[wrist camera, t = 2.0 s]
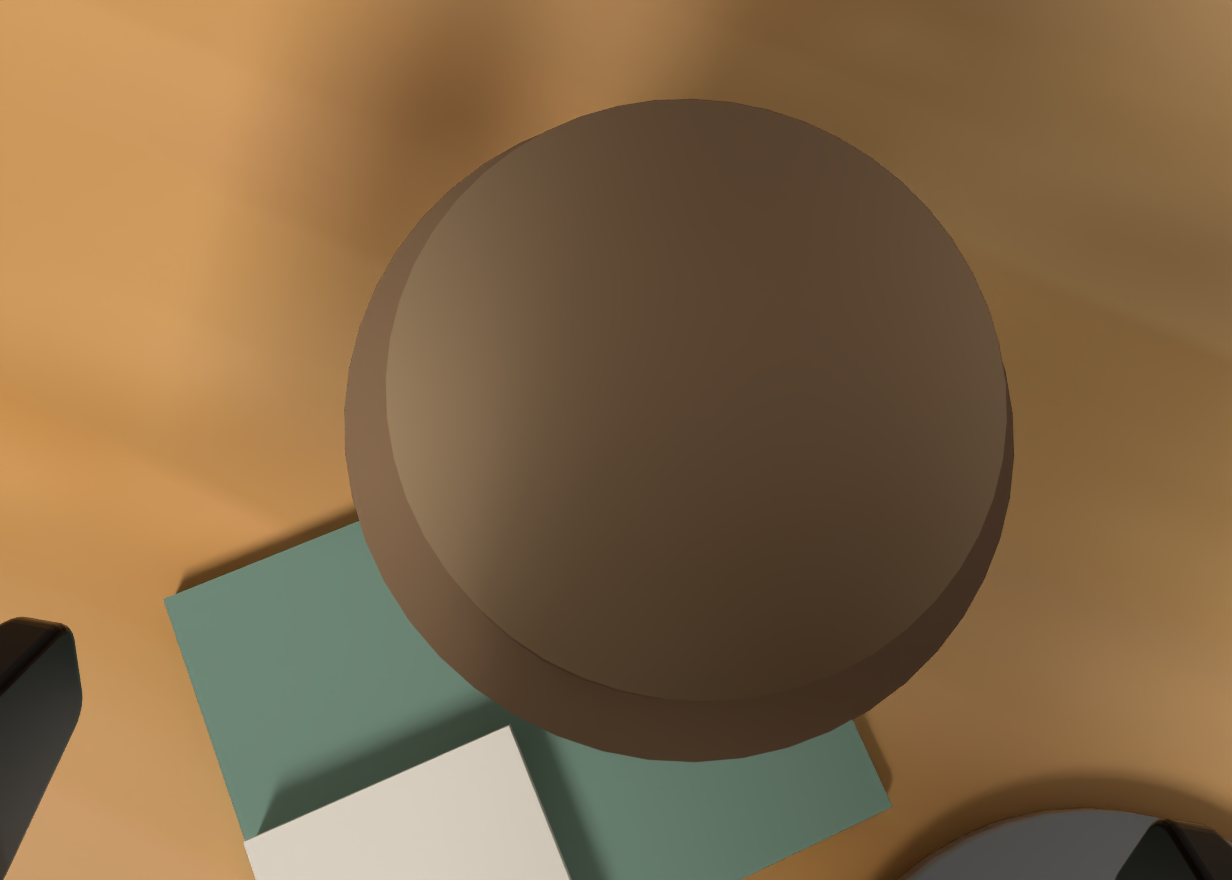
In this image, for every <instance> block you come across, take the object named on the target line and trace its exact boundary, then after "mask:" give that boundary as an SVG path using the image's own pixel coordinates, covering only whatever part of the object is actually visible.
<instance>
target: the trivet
mask: <svg viewBox="0 0 1232 880" xmlns="http://www.w3.org/2000/svg"><path fill="white" fill-rule="evenodd" d="M1159 819H1161V818H1158V817H1152V816H1147V815H1142V814H1137V813H1131V812H1126V811H1121V810H1111V809H1091V808H1070V809H1059V810H1048V811H1038V812H1033V813H1029V814H1025V815H1021V816H1017V817H1013V818H1009V819H1004V820H1000V821H997V822H995V823H992V824H990V825H987V826H985V827H982V828H980V829H977V830H975V831H972V832H970V833H967V834H965V835H963V836H961V837H959V838H957V839H955V840H954V841H952V842H950V843H949V844H947V845H945V846H943V847H942V848H940V849H938V850H937V851H935V852H933V853H931V854H930V855H928V856H926V857H925V858H924V859H923V860H921V861H920V862H919V863H917V864H916V865H915V866H914V867H912V868H911V869H910V870H909V871H907V872H906V873H905V874H904V875H902V876H901V877H900V878H899V879H897V880H1115V878H1116V875H1117V873H1118V872H1119V870H1120V869H1121V867H1122V866H1123V864H1124V863H1125V861H1126V860H1127V858H1128V857H1129V855H1130V854H1131V852H1132V851H1133V849H1134V848H1135V846H1136V845H1137V843H1138V842H1139V841H1140V839H1141V838H1142V836H1143V835H1144V833H1145V832H1146V830H1147V829H1148V827H1149V826H1150V825H1151V824H1152V823H1153V822H1155V821H1157V820H1159ZM1224 839H1225V838H1224ZM1225 840H1226V841H1227V842H1228V843H1229V844H1230V845H1231V846H1232V842H1231V841H1229V840H1227V839H1225Z"/></svg>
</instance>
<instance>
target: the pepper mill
mask: <svg viewBox="0 0 1232 880" xmlns="http://www.w3.org/2000/svg"><path fill="white" fill-rule="evenodd" d="M344 413H345V455H346V461H347V467H348V474H349V480H350V486H351V492H352V498H353V502H354V505H355V508H356V511H357V515H358V518H359V521H360V525H361V528H362V531H363V534H364V538H365V541H366V543H367V545H368V547H369V550H370V552H371V554H372V556H373V558H374V560H375V563H376V565H377V567H378V569H379V571H380V573H381V576H382V578H383V580H384V582H385V584H386V585H387V587H388V588H389V590H390V592H391V593H392V595H393V596H394V598H395V599H396V601H397V603H398V604H399V606H400V607H401V609H402V610H403V612H404V613H405V615H406V617H407V618H408V620H409V621H410V622H411V624H412V625H413V626H414V627H415V628H416V630H417V631H418V632H419V633H420V634H421V635H422V637H423V638H424V639H425V640H426V641H427V642H428V644H429V645H430V646H431V647H432V648H433V650H434V651H435V652H436V653H437V654H438V655H439V657H440V658H442V659H443V660H444V661H445V662H446V663H447V664H448V665H449V666H451V667H452V668H453V669H454V670H455V671H456V672H457V673H458V674H459V675H461V676H462V677H463V678H464V679H465V680H466V681H467V682H468V683H469V684H471V685H472V686H473V687H474V688H475V689H477V690H478V691H480V692H481V693H483V694H484V695H485V696H487V697H488V698H490V699H491V700H493V701H494V702H496V703H497V704H499V705H500V706H502V707H503V708H505V709H506V710H508V711H509V712H511V713H512V714H514V715H515V716H517V717H519V718H521V719H523V720H526V721H528V722H530V723H532V724H534V725H536V726H538V727H540V728H542V729H544V730H546V731H548V732H550V733H552V734H554V735H556V736H558V737H561V738H564V739H567V740H570V741H573V742H576V743H579V744H582V745H585V746H588V747H591V748H594V749H597V750H600V751H604V752H609V753H615V754H620V755H625V756H630V757H636V758H641V759H646V760H660V761H679V762H705V761H716V760H728V759H740V758H745V757H750V756H754V755H759V754H763V753H767V752H772V751H776V750H781V749H785V748H788V747H791V746H794V745H796V744H799V743H802V742H804V741H807V740H809V739H812V738H815V737H817V736H820V735H823V734H825V733H828V732H830V731H832V730H834V729H836V728H838V727H839V726H841V725H843V724H845V723H847V722H849V721H850V720H852V719H854V718H856V717H858V716H859V715H861V714H863V713H865V712H867V711H869V710H870V709H872V708H873V707H874V706H876V705H877V704H878V703H880V702H881V701H882V700H884V699H885V698H886V697H888V696H889V695H890V694H892V693H893V692H894V691H896V690H897V689H898V688H900V687H901V686H902V685H904V684H905V683H906V682H907V681H908V680H909V679H910V678H911V677H912V676H913V675H914V674H915V673H916V672H917V671H918V670H919V669H920V668H921V667H922V666H923V665H924V664H925V663H926V662H927V661H928V660H929V659H930V658H931V657H932V656H933V655H934V654H935V653H936V652H937V651H938V650H939V648H940V647H941V646H942V644H943V643H944V642H945V640H946V639H947V638H948V636H949V635H950V634H951V632H952V631H953V630H954V629H955V627H956V626H957V625H958V623H959V622H960V621H961V619H962V618H963V617H964V615H965V613H966V611H967V609H968V608H969V606H970V604H971V602H972V600H973V599H974V597H975V595H976V593H977V591H978V590H979V588H980V586H981V584H982V582H983V581H984V579H985V576H986V574H987V571H988V568H989V566H990V563H991V561H992V558H993V556H994V553H995V550H996V548H997V545H998V543H999V540H1000V537H1001V532H1002V528H1003V524H1004V520H1005V515H1006V511H1007V507H1008V503H1009V498H1010V490H1011V480H1012V469H1013V459H1014V445H1013V416H1012V408H1011V402H1010V396H1009V390H1008V384H1007V378H1006V372H1005V369H1004V365H1003V362H1002V358H1001V352H1000V346H999V342H998V338H997V335H996V332H995V329H994V325H993V322H992V319H991V315H990V312H989V309H988V306H987V304H986V301H985V299H984V297H983V295H982V292H981V290H980V288H979V286H978V284H977V281H976V279H975V277H974V275H973V272H972V271H971V269H970V267H969V266H968V264H967V262H966V261H965V259H964V257H963V256H962V254H961V252H960V251H959V249H958V247H957V246H956V244H955V242H954V241H953V239H952V238H951V237H950V235H949V234H948V233H947V231H946V230H945V229H944V228H943V226H942V225H941V224H940V222H939V221H938V220H937V219H936V217H935V216H934V215H933V214H932V212H931V211H930V210H929V209H928V208H927V207H926V206H925V205H924V204H923V203H922V202H921V201H920V200H919V199H918V198H917V197H916V196H915V195H914V194H913V193H912V192H911V190H910V189H909V188H908V187H907V186H906V185H905V184H904V183H903V182H901V181H900V180H899V179H898V178H896V177H895V176H894V175H893V174H891V173H890V172H889V171H888V170H886V169H885V168H884V167H882V166H881V165H880V164H879V163H877V162H876V161H875V160H874V159H872V158H871V157H869V156H868V155H866V154H864V153H863V152H861V151H860V150H858V149H856V148H855V147H853V146H851V145H850V144H848V143H847V142H845V141H843V140H842V139H840V138H838V137H836V136H834V135H832V134H830V133H827V132H825V131H823V130H821V129H819V128H817V127H814V126H812V125H810V124H808V123H806V122H803V121H800V120H797V119H794V118H791V117H788V116H785V115H782V114H779V113H776V112H773V111H770V110H766V109H762V108H757V107H752V106H747V105H742V104H737V103H732V102H722V101H710V100H699V99H679V100H654V101H647V102H641V103H634V104H628V105H622V106H616V107H613V108H609V109H606V110H602V111H599V112H595V113H591V114H588V115H584V116H581V117H579V118H576V119H574V120H571V121H569V122H567V123H564V124H562V125H560V126H557V127H555V128H553V129H550V130H548V131H546V132H544V133H542V134H540V135H538V136H535V137H533V138H531V139H528V140H526V141H524V142H521V143H519V144H517V145H516V146H514V147H512V148H510V149H509V150H507V151H505V152H503V153H502V154H500V155H498V156H497V157H495V158H493V159H491V160H490V161H488V162H486V163H485V164H483V165H482V166H480V167H479V168H478V169H477V170H475V171H474V172H473V173H471V174H470V175H469V176H467V177H466V178H465V179H464V180H462V181H461V182H460V183H458V184H457V185H456V186H454V187H453V188H452V189H451V190H450V191H449V192H448V193H447V194H446V195H445V196H444V197H443V198H442V199H441V200H440V201H439V202H438V203H437V204H436V205H435V206H434V207H433V208H432V209H431V210H430V211H429V212H428V213H427V214H426V215H425V216H424V217H423V218H422V219H421V220H420V221H419V223H418V224H417V225H416V227H415V228H414V229H413V230H412V232H411V233H410V234H409V236H408V237H407V238H406V240H405V241H404V242H403V243H402V245H401V246H400V247H399V249H398V250H397V251H396V253H395V255H394V257H393V258H392V260H391V262H390V264H389V265H388V267H387V269H386V270H385V272H384V274H383V276H382V277H381V279H380V281H379V283H378V284H377V286H376V288H375V291H374V293H373V296H372V298H371V300H370V303H369V305H368V308H367V310H366V313H365V315H364V318H363V320H362V322H361V325H360V328H359V332H358V336H357V340H356V344H355V348H354V351H353V355H352V359H351V363H350V367H349V375H348V384H347V392H346V401H345V409H344Z"/></svg>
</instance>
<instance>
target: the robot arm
mask: <svg viewBox="0 0 1232 880" xmlns="http://www.w3.org/2000/svg"><path fill="white" fill-rule="evenodd" d="M81 707H82V688H81V681H80V675H79V668H78V661H77V654H76V647H75V640H74V636H73V633H72V631H71V630H70V629H69V627H68V626H66V625H64V624H62V623H56V622H51V621H45V620H39V619H34V618H28V617H17V618H13V619H10V620H8V621H6V622H4V623H2V624H0V880H4V878H5V876H6V874H7V872H8V869H9V867H10V865H11V863H12V861H13V859H14V857H15V855H16V852H17V850H18V848H19V846H20V844H21V842H22V840H23V837H24V835H25V833H26V831H27V829H28V827H29V825H30V823H31V820H32V818H33V816H34V814H35V812H36V810H37V808H38V805H39V803H40V801H41V799H42V797H43V795H44V793H45V791H46V788H47V786H48V784H49V782H50V780H51V778H52V776H53V773H54V771H55V769H56V767H57V765H58V763H59V761H60V759H61V756H62V754H63V752H64V750H65V748H66V746H67V744H68V741H69V739H70V737H71V735H72V733H73V731H74V729H75V726H76V724H77V722H78V718H79V715H80V711H81ZM1115 880H1232V846H1231V845H1230V844H1229V843H1228V842H1227V841H1226V840H1225V839H1224V838H1223V837H1222V836H1221V835H1220V834H1219V833H1218V832H1217V831H1215V830H1214V829H1212V828H1211V827H1208V826H1206V825H1203V824H1198V823H1193V822H1187V821H1181V820H1175V819H1170V818H1161V819H1159V820H1157V821H1155V822H1153V823H1152V824H1151V825H1150V826H1149V827H1148V829H1147V830H1146V832H1145V833H1144V835H1143V836H1142V838H1141V839H1140V841H1139V842H1138V843H1137V845H1136V846H1135V848H1134V849H1133V851H1132V852H1131V854H1130V855H1129V857H1128V858H1127V860H1126V861H1125V863H1124V864H1123V866H1122V867H1121V869H1120V870H1119V872H1118V873H1117V875H1116V878H1115Z"/></svg>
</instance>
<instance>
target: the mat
mask: <svg viewBox="0 0 1232 880" xmlns="http://www.w3.org/2000/svg"><path fill="white" fill-rule="evenodd" d="M163 600H164V602H165V605H166V608H167V611H168V614H169V617H170V620H171V623H172V626H173V629H174V632H175V635H176V638H177V641H178V644H179V647H180V650H181V653H182V656H183V659H184V662H185V665H186V668H187V671H188V673H189V676H190V679H191V682H192V685H193V688H194V691H195V694H196V697H197V700H198V703H199V706H200V709H201V712H202V715H203V718H204V721H205V724H206V727H207V730H208V733H209V736H210V739H211V742H212V744H213V747H214V750H215V753H216V756H217V759H218V762H219V765H220V768H221V771H222V774H223V777H224V780H225V783H226V786H227V789H228V792H229V795H230V798H231V801H232V804H233V807H234V810H235V813H236V815H237V818H238V821H239V824H240V827H241V830H242V833H243V836H244V839H245V842H243V843H244V846H245V849H246V852H247V855H248V858H249V861H250V864H251V867H252V870H253V873H254V876H255V879H256V880H741V879H743V878H745V877H747V876H749V875H751V874H753V873H755V872H758V871H760V870H762V869H764V868H766V867H768V866H770V865H772V864H774V863H776V862H778V861H781V860H783V859H785V858H787V857H789V856H791V855H793V854H795V853H797V852H799V851H801V850H803V849H806V848H808V847H810V846H812V845H814V844H816V843H818V842H820V841H822V840H824V839H826V838H828V837H831V836H833V835H835V834H837V833H839V832H841V831H843V830H845V829H847V828H849V827H851V826H854V825H856V824H858V823H860V822H862V821H864V820H866V819H868V818H870V817H872V816H874V815H876V814H879V813H881V812H883V811H885V810H887V809H889V808H891V807H892V805H891V802H890V800H889V798H888V796H887V794H886V791H885V789H884V787H883V785H882V783H881V780H880V778H879V776H878V774H877V772H876V770H875V767H874V765H873V763H872V761H871V759H870V756H869V754H868V752H867V750H866V748H865V745H864V743H863V741H862V739H861V737H860V735H859V732H858V730H857V728H856V726H855V724H854V721H853V719H852V720H850V721H849V722H847V723H845V724H843V725H841V726H839V727H838V728H836V729H834V730H832V731H830V732H828V733H825V734H823V735H820V736H817V737H815V738H812V739H809V740H807V741H804V742H802V743H799V744H796V745H794V746H791V747H788V748H785V749H781V750H776V751H772V752H767V753H763V754H759V755H754V756H750V757H745V758H740V759H728V760H716V761H705V762H679V761H660V760H646V759H641V758H636V757H630V756H625V755H620V754H615V753H609V752H604V751H600V750H597V749H594V748H591V747H588V746H585V745H582V744H579V743H576V742H573V741H570V740H567V739H564V738H561V737H558V736H556V735H554V734H552V733H550V732H548V731H546V730H544V729H542V728H540V727H538V726H536V725H534V724H532V723H530V722H528V721H526V720H523V719H521V718H519V717H517V716H515V715H514V714H512V713H511V712H509V711H508V710H506V709H505V708H503V707H502V706H500V705H499V704H497V703H496V702H494V701H493V700H491V699H490V698H488V697H487V696H485V695H484V694H483V693H481V692H480V691H478V690H477V689H475V688H474V687H473V686H472V685H471V684H469V683H468V682H467V681H466V680H465V679H464V678H463V677H462V676H461V675H459V674H458V673H457V672H456V671H455V670H454V669H453V668H452V667H451V666H449V665H448V664H447V663H446V662H445V661H444V660H443V659H442V658H440V657H439V655H438V654H437V653H436V652H435V651H434V650H433V648H432V647H431V646H430V645H429V644H428V642H427V641H426V640H425V639H424V638H423V637H422V635H421V634H420V633H419V632H418V631H417V630H416V628H415V627H414V626H413V625H412V624H411V622H410V621H409V620H408V618H407V617H406V615H405V613H404V612H403V610H402V609H401V607H400V606H399V604H398V603H397V601H396V599H395V598H394V596H393V595H392V593H391V592H390V590H389V588H388V587H387V585H386V584H385V582H384V580H383V578H382V576H381V573H380V571H379V569H378V567H377V565H376V563H375V560H374V558H373V556H372V554H371V552H370V550H369V547H368V545H367V543H366V541H365V538H364V534H363V531H362V528H361V525H360V521H357V522H355V523H352V524H350V525H347V526H345V527H342V528H340V529H337V530H335V531H332V532H330V533H327V534H325V535H322V536H320V537H317V538H315V539H312V540H310V541H307V542H305V543H302V544H300V545H297V546H295V547H292V548H290V549H287V550H285V551H282V552H280V553H277V554H275V555H272V556H270V557H267V558H265V559H262V560H260V561H257V562H255V563H252V564H250V565H247V566H245V567H242V568H240V569H237V570H235V571H232V572H230V573H227V574H225V575H222V576H220V577H217V578H215V579H212V580H210V581H207V582H205V583H202V584H200V585H197V586H195V587H192V588H190V589H187V590H185V591H182V592H180V593H177V594H175V595H172V596H170V597H167V598H165V599H163Z"/></svg>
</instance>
